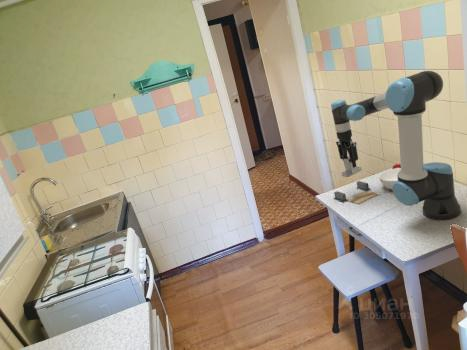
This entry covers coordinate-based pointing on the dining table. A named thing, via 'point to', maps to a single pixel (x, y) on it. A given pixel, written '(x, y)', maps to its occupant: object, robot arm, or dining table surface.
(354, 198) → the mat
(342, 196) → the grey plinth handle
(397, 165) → the bracket
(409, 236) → the dining table surface
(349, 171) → the bent metal sheet
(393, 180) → the bowl
